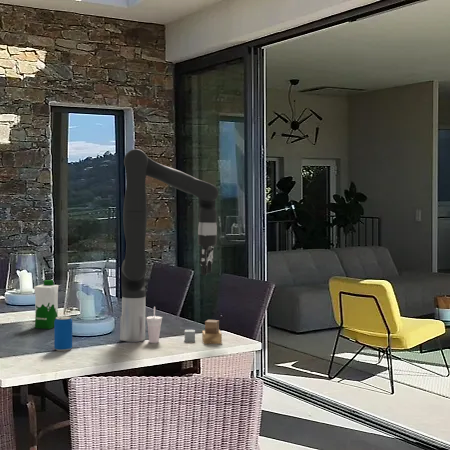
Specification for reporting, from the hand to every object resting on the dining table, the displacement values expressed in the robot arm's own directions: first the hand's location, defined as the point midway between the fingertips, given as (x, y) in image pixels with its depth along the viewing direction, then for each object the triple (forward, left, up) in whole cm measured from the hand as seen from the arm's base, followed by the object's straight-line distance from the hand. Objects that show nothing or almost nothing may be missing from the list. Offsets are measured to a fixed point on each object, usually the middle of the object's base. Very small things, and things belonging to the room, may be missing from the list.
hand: (206, 273), depth 270 cm
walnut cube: (+4, -6, -22) cm, 24 cm away
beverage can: (-47, -32, -26) cm, 63 cm away
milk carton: (-71, +5, -26) cm, 76 cm away
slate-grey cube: (-5, -6, -26) cm, 27 cm away
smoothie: (-18, -12, -26) cm, 34 cm away
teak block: (+4, -6, -26) cm, 27 cm away
